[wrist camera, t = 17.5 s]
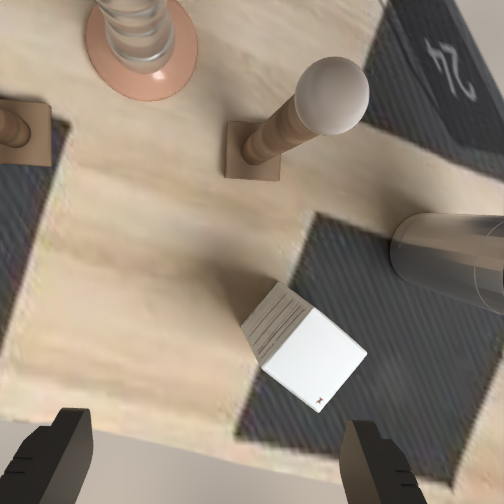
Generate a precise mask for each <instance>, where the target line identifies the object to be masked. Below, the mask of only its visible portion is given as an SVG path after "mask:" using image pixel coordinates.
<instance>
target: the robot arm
mask: <svg viewBox="0 0 504 504" xmlns="http://www.w3.org/2000/svg"><path fill="white" fill-rule="evenodd" d="M390 260H391V263H392V266H393V268H394V270H395V272H396V273H397V274H398V276H399V277H400V278H401V279H403V280H404V281H406V282H408V283H410V284H413V285H416V286H419V287H422V288H425V289H428V290H430V291H433V292H436V293H439V294H442V295H445V296H448V297H451V298H454V299H457V300H459V301H462V302H465V303H468V304H471V305H474V306H477V307H480V308H483V309H486V310H489V311H492V312H495V313H498V314H501V315H504V216H496V215H468V214H443V213H420V214H416V215H413V216H411V217H409V218H407V219H406V220H405V221H404V222H403V223H401V224H400V226H399V227H398V228H397V230H396V231H395V233H394V235H393V237H392V241H391V244H390ZM92 455H93V436H92V425H91V415H90V410H89V409H85V408H62V409H61V410H60V411H59V413H58V414H57V416H56V418H55V420H54V421H53V423H52V425H51V426H39V427H38V428H37V429H36V430H35V431H34V432H33V433H31V434H30V435H29V436H28V437H27V438H26V439H25V440H24V441H23V442H22V444H21V445H20V447H19V449H18V450H17V452H16V454H15V455H14V457H13V460H12V461H11V462H10V463H9V465H8V466H7V468H6V470H5V472H4V475H2V476H1V478H0V504H75V502H76V500H77V497H78V495H79V492H80V490H81V487H82V485H83V482H84V479H85V477H86V474H87V472H88V469H89V467H90V464H91V459H92ZM339 466H340V474H341V478H342V482H343V486H344V489H345V493H346V497H347V501H348V504H427V502H426V500H425V498H424V496H423V493H422V491H421V489H420V488H419V487H418V483H417V480H416V478H415V476H414V474H412V470H411V467H410V465H409V463H408V461H407V459H406V457H405V455H404V453H403V452H402V451H401V450H400V449H399V448H398V447H397V445H396V444H395V443H394V442H393V441H392V440H391V439H382V438H381V436H380V433H379V431H378V429H377V426H376V424H375V423H374V421H369V420H348V422H347V425H346V430H345V434H344V438H343V443H342V447H341V451H340V457H339Z"/></svg>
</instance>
